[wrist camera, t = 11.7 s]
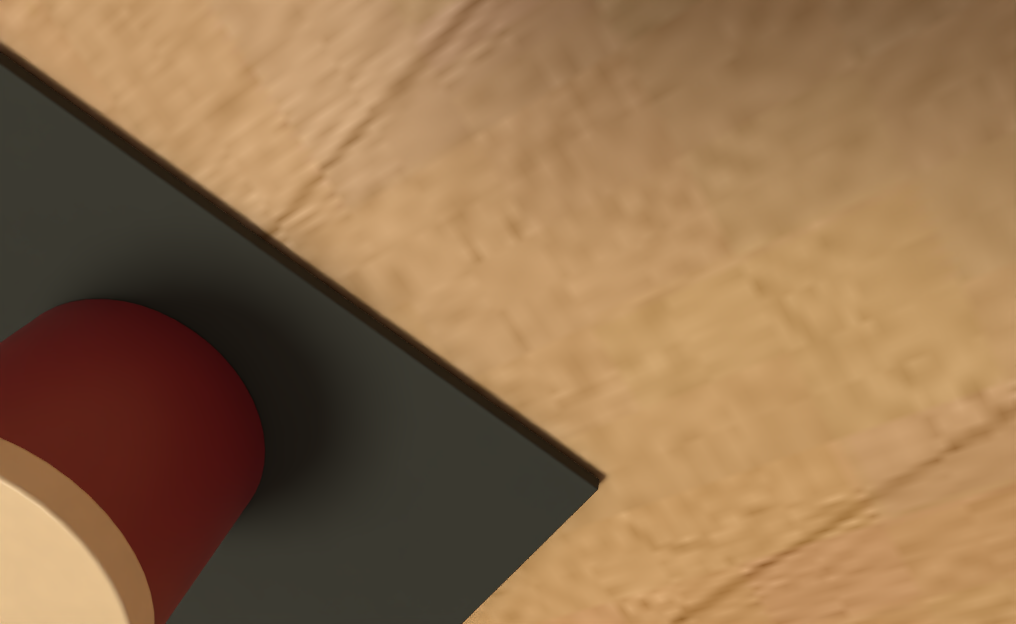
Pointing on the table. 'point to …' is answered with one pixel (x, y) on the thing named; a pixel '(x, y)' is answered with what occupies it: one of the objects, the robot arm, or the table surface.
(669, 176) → the table surface
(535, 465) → the mat
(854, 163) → the table surface
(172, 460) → the tub
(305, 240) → the table surface
